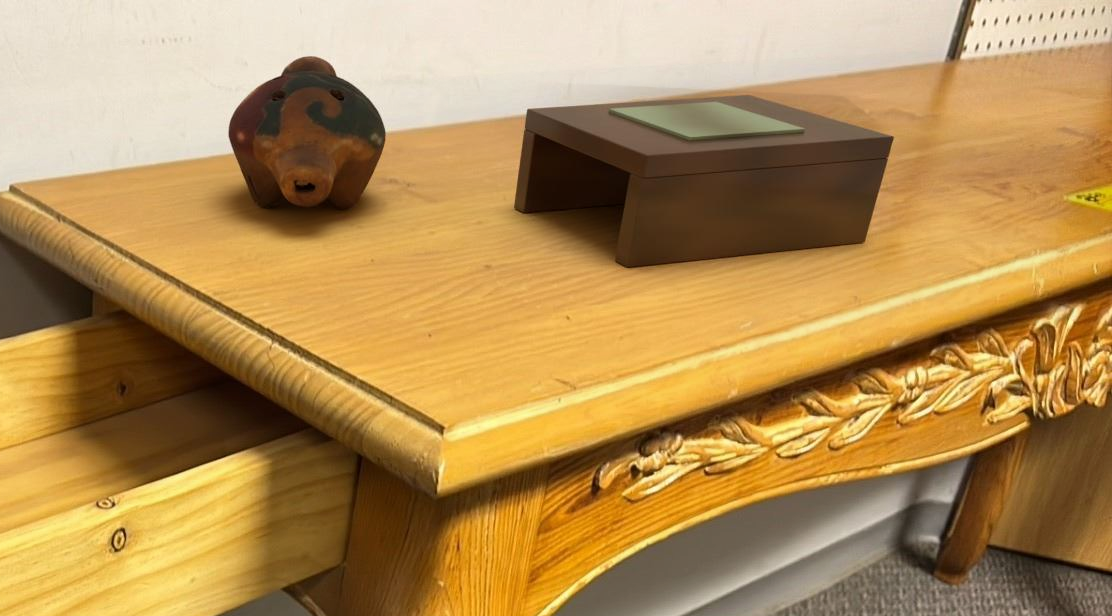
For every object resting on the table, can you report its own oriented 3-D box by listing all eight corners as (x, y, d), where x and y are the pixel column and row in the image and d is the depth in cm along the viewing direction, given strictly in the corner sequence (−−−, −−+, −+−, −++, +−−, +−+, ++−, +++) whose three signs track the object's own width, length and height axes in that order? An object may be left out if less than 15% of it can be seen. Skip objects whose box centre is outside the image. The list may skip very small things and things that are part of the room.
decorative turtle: (361, 169, 83) (377, 48, 79) (393, 252, 71) (414, 114, 66) (220, 161, 83) (228, 38, 79) (227, 244, 70) (237, 104, 66)
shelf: (727, 188, 80) (749, 91, 77) (865, 242, 70) (896, 132, 67) (513, 207, 76) (526, 105, 73) (627, 267, 66) (648, 151, 63)
